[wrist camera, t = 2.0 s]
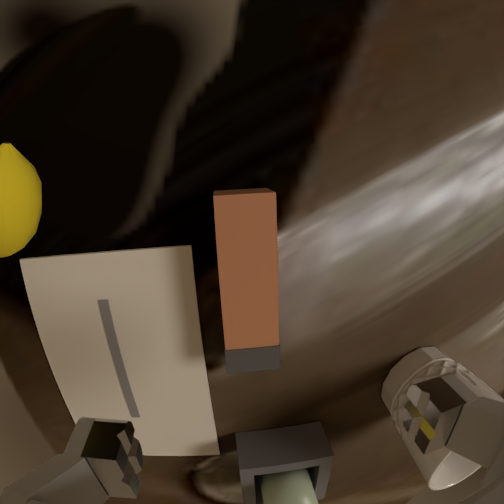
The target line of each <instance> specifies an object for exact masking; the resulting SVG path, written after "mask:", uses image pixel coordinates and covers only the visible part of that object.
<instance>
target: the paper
mask: <svg viewBox="0 0 504 504" xmlns="http://www.w3.org/2000/svg"><path fill="white" fill-rule="evenodd" d="M20 265H21V269H22V274H23V278H24V283H25V287H26V291H27V295H28V299H29V302H30V306H31V309H32V313H33V316H34V320H35V323H36V326H37V330H38V333H39V336H40V339H41V342H42V345H43V348H44V350H45V353H46V356H47V359H48V362H49V364H50V367H51V369H52V372H53V375H54V377H55V380H56V382H57V384H58V387H59V389H60V392H61V394H62V396H63V398H64V401H65V403H66V405H67V407H68V409H69V412H70V414H71V416H72V418H73V420H74V422H75V424H77V422H78V420H79V419H80V418H81V417H89V418H102V419H113V420H127V421H130V422H132V424H133V427H134V429H135V432H134V437H135V438H136V439H137V440H139V442H140V445H141V448H142V453H143V455H151V456H200V455H220V450H219V445H218V439H217V434H216V428H215V422H214V416H213V410H212V404H211V398H210V392H209V385H208V379H207V372H206V365H205V358H204V351H203V343H202V336H201V328H200V320H199V312H198V303H197V295H196V286H195V276H194V266H193V256H192V246H191V245H181V246H168V247H155V248H142V249H129V250H116V251H104V252H91V253H79V254H67V255H56V256H44V257H32V258H22V259H20Z"/></svg>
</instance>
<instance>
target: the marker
mask: <svg viewBox="0 0 504 504" xmlns="http://www.w3.org/2000/svg"><path fill="white" fill-rule="evenodd" d="M213 200H214V216H215V230H216V245H217V258H218V271H219V283H220V295H221V307H222V318H223V332H224V348H225V359H226V368H227V374H230V373H242V372H253V371H263V370H272V369H280V344H279V301H278V250H277V213H276V192H274V191H272V190H269V189H267V188H259V189H240V190H224V191H214V193H213Z"/></svg>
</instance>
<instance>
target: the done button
mask: <svg viewBox="0 0 504 504" xmlns="http://www.w3.org/2000/svg"><path fill="white" fill-rule="evenodd" d="M259 479H260V485H261V491H262V497H263V502H264V504H318V501H317V498H316V495H315V492H314V489H313V485H312V482H311V479H310V476H309V473H308V470H307V468H303V469H298V470H291V471H285V472H278V473H271V474H263V475H259Z"/></svg>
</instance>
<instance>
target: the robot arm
mask: <svg viewBox="0 0 504 504" xmlns="http://www.w3.org/2000/svg"><path fill="white" fill-rule="evenodd" d="M407 397H408V398H409V400H408V402H407V403H406V404H405V405H404V407H403V411H402V422H403V425H404V427H405V429H406V430H407V432H408V433H410V434H413V435H415V441H414V442H415V443H416V445H417V446H418V447H419V449H420V450H421V452H422V453H423V454H424V455H425V454H428V453H430V452H433V451H435V450H438V449H440V448H443V447H445V446H446V447H445V448H447V449H449V450H451V451H453V452H455V453H457V454H459V455H461V456H463V457H465V458H467V459H469V460H471V461H473V462H475V463H477V464H479V465H481V466H483V467H485V468H487V469H488V470H487V472H486V473H485V475H484V476H483V478H482V480H481V483H482V485H483V486H484V487H483V488H481V489H480V490H478V491H477V492H475V493H473V494H471V495H470V496H468V497H466V498H465V499H463V500H461V501H459V502H457V503H455V504H504V402H500V401H497V400H493V399H490V398H486V397H483V396H482V397H478V396H477V395H475V394H474V393H473V392H472V391H471V390H470V389H469V388H468V387H467V386H466V385H465V384H464V383H463V382H462V381H460V380H459V379H458V378H457V377H456V376H455V375H454V374H452V373H446V374H443V375H440V376H437V377H435V378H432V379H429V380H426V381H423V382H420V383H416V384H413V385H411V386H410V388H409V389H408V392H407ZM134 432H135V429H134V427H133V424H132V422H130V421H127V420H113V419H102V418H89V417H81V418H80V419H79V420H78V422H77V424H76V426H75V428H74V430H73V433H72V435H71V437H70V439H69V442H68V444H67V446H66V449H65V451H64V453H63V454H58V455H56V456H55V457H53V458H52V459H50V460H48V461H47V462H45V463H44V464H42V465H41V466H39V467H38V468H36V469H35V470H33V471H31V472H30V473H28V474H27V475H25V476H23V477H22V478H20V479H19V480H17V481H16V482H14V483H12V484H11V485H9V486H7V487H6V488H4V489H3V491H2V493H1V496H0V504H103V503H104V502H105V501H106V500H107V499H108V498H109V496H112V497H123V498H137V494H138V488H139V482H140V481H139V479H138V477H137V475H136V474H137V473H138V472H140V471H141V470H142V464H143V453H142V448H141V445H140V442H139V440H137V439H136V438H135V437H134Z"/></svg>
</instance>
